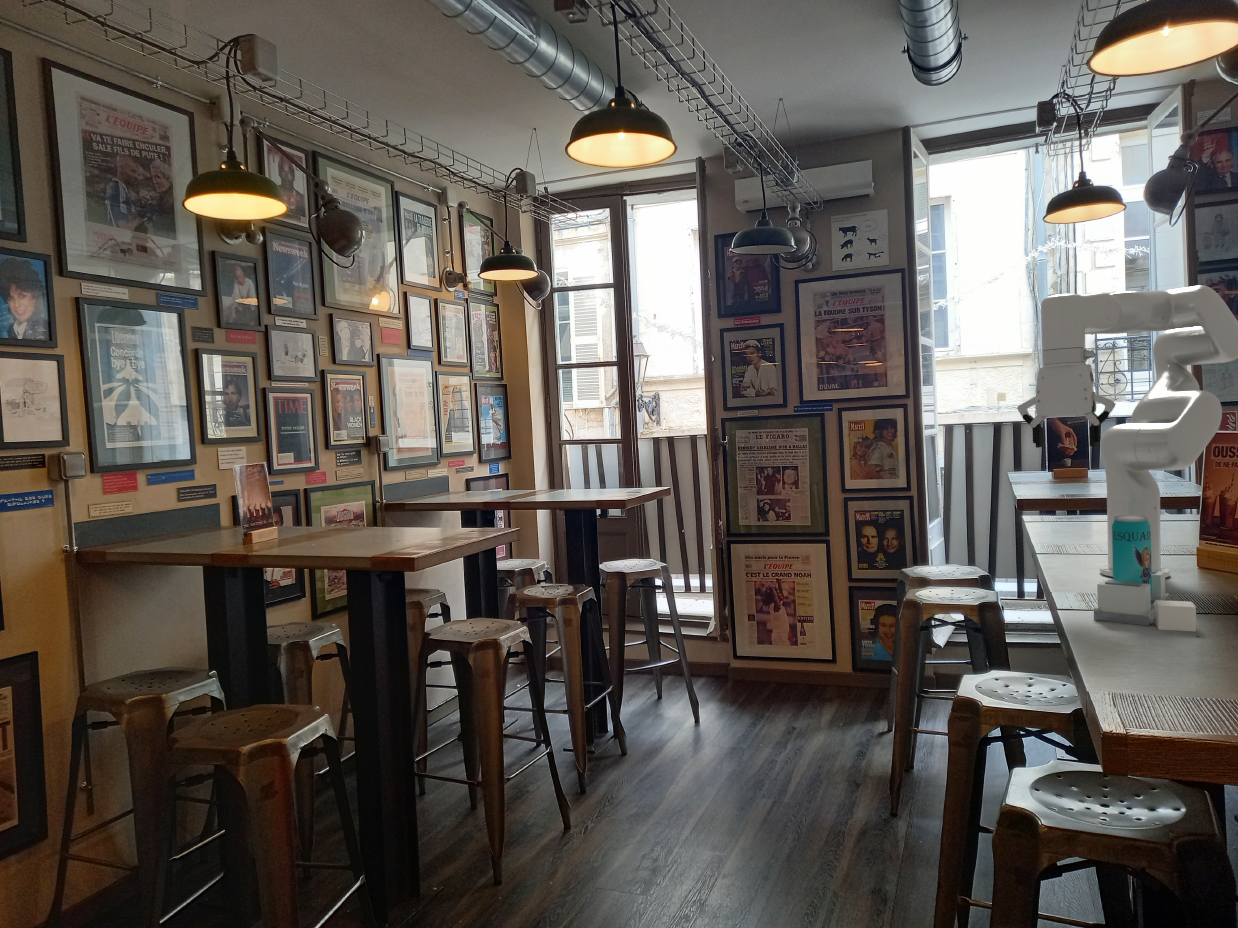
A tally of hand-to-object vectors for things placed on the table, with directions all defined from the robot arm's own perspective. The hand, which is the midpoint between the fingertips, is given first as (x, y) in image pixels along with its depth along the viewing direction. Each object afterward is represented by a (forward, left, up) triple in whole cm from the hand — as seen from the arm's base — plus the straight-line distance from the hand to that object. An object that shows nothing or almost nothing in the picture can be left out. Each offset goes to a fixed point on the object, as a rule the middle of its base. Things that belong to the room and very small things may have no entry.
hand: (1066, 446), depth 169 cm
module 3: (+24, +21, -28) cm, 43 cm away
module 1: (+22, +14, -27) cm, 37 cm away
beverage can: (+16, +14, -27) cm, 34 cm away
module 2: (+9, +14, -27) cm, 31 cm away
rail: (+16, +14, -28) cm, 35 cm away
